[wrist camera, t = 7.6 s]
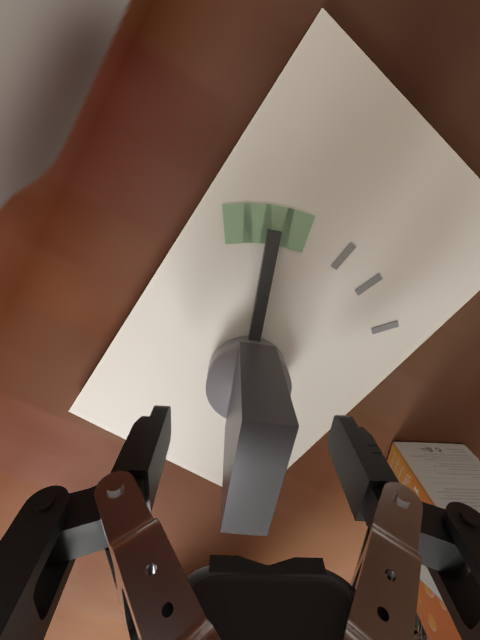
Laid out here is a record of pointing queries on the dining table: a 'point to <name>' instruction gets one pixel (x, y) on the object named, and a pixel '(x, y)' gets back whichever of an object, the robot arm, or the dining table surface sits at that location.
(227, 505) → the tuning knob
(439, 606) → the small box
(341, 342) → the gauge board
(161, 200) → the dining table surface
